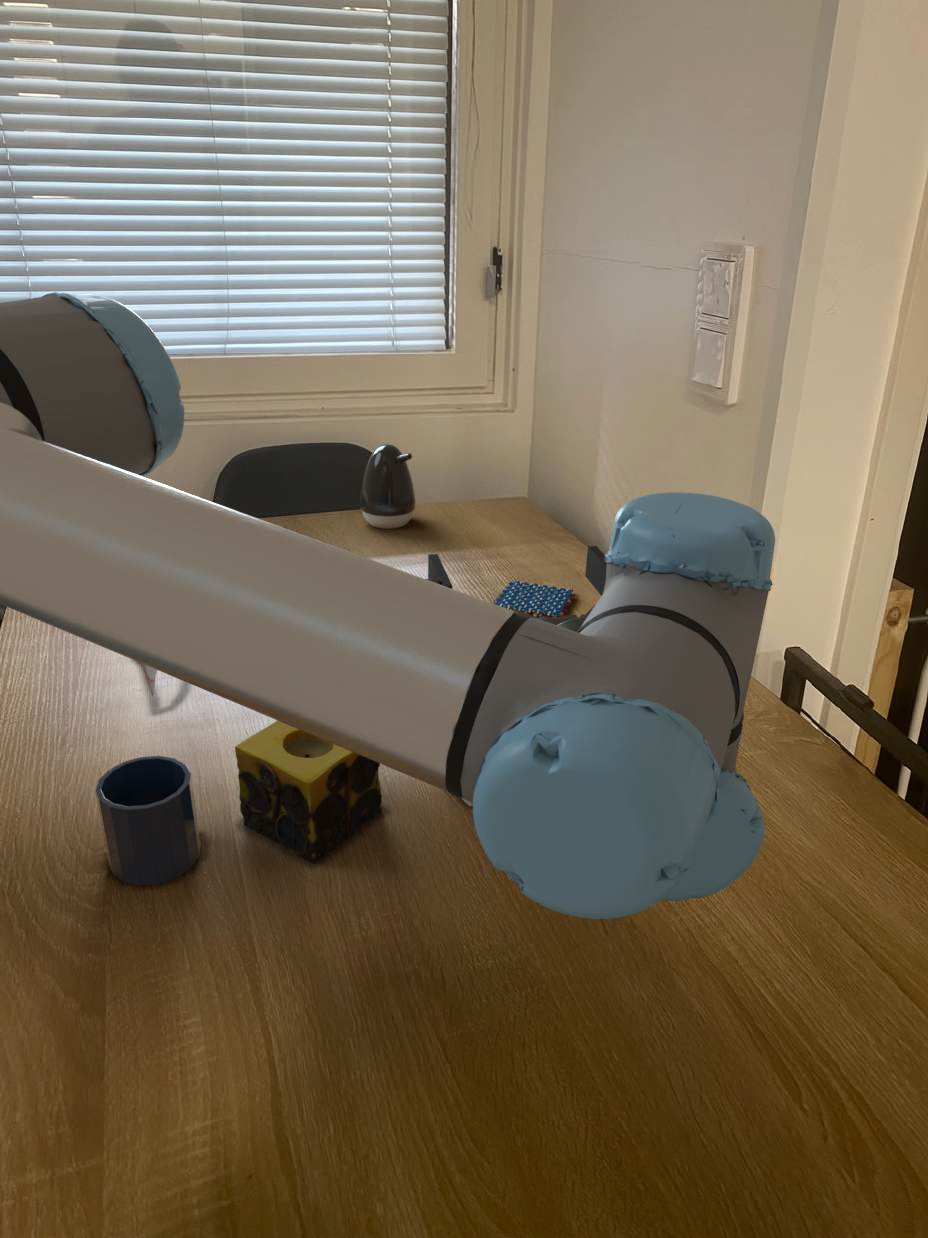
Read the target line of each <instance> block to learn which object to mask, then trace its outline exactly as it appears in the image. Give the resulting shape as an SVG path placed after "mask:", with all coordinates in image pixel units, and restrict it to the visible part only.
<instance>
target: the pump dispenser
mask: <svg viewBox="0 0 928 1238" xmlns="http://www.w3.org/2000/svg"><path fill="white" fill-rule="evenodd" d="M412 458H413V454H412V453H410V452H409V453H404V454H403V453H402V451H401V450H400V449H399V448H398V446H396V445H393V444H390V443H384V444H381V445H379V446H377V447H376V448H375V449H374V450H373V451H372V453H371V455H370V457H369V459H368V462H367V464H366V467H365V469H364V473H363V476H362V482H361V488H360V495H359V508H360V510H361V512H362V516H363V518H364V519H365V521H366V522H367V523H368V524H369V525H370V526H372V527H373V528H377V529H382V530H383V529H385V530H391V529H398V528H399V529H400V528H403V527H404V526H406V525H407V524H408V523H409V522H410V521H411V519H412V517H413V515H414V512H415V510H416V508H417V501H416V493H415V492H416V491H415V486H414V481H413V478H412V475H411V471H410V468H409V465H408V463H407V461H409V460H412Z"/></svg>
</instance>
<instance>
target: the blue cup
mask: <svg viewBox="0 0 928 1238" xmlns="http://www.w3.org/2000/svg"><path fill="white" fill-rule="evenodd" d="M95 787H96V788H95V790H94V792H95V796H96V801H97V807H98V813H99V819H100V822H101V823H100V824H101V829H102V833H103V834H102V835H103V840H104V844H105V851H106V855H107V861H108V865H109V868H110V871H111V873H112V875H113V876H114V877H115V878H117V880H120V881H121V882H123V883H125V884H129V885H135V886H138V887H139V886H153V885H159V884H162V883H166V882H169V881H171V880H174V879H176V878H179V877H180V876H181V875H183V874H184V873H186V872H187V871H189V870H190V869H192V867H193V866H194V864H195V863H196V862H197V860H198V859H199V858H200V853H201V839H200V831H199V824H198V815H197V807H196V800H195V793H194V785H193V777H192V772H191V770H190V769H189V767H188V765H187V763H185V762H183V761H181V760H180V759H177V758H176V757H170V756H165V755H148V756H147V755H146V756H140V757H139V756H138V757H136V758H132V759H128V760H125V761H122V762H121V763H119V764H117V765H115V766H113V767H111V768H109V769H108V770H107V771H106V772H105V773H104V774H103V775H102V776H101V777H100V778H99V779H98V781H97V784H96V786H95Z"/></svg>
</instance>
